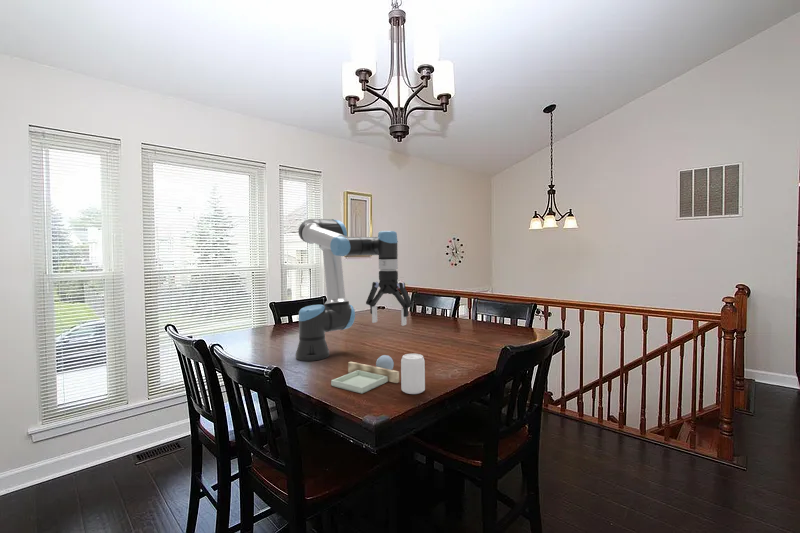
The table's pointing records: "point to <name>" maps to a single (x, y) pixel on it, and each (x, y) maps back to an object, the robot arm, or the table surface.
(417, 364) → the beverage can
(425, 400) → the table surface
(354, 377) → the tray
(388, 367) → the ball
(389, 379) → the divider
